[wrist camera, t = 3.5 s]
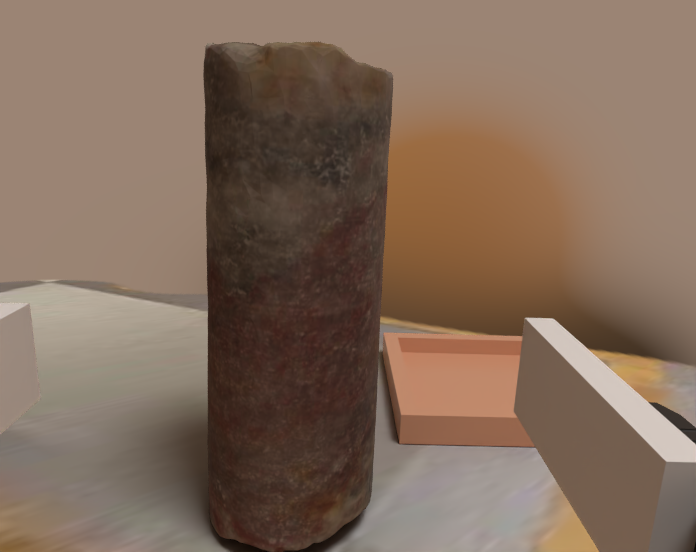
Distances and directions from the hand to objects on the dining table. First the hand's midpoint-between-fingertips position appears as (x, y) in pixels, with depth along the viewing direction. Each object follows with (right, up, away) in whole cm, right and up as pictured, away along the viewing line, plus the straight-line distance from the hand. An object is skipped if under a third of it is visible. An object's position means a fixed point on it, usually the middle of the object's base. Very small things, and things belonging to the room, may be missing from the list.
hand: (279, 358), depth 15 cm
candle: (-1, -9, +11) cm, 14 cm away
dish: (+11, -6, +23) cm, 26 cm away
